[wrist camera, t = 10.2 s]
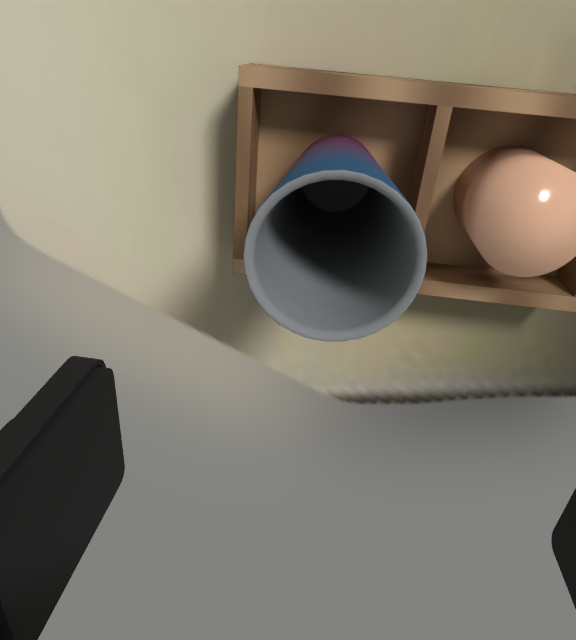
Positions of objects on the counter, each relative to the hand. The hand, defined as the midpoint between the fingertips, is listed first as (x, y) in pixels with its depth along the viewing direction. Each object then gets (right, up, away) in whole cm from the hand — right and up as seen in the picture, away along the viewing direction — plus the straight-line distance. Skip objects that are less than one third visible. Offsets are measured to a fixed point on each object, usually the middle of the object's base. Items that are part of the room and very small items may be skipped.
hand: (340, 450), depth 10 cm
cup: (+2, +12, +22) cm, 25 cm away
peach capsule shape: (+12, +10, +21) cm, 27 cm away
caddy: (+7, +11, +22) cm, 26 cm away
